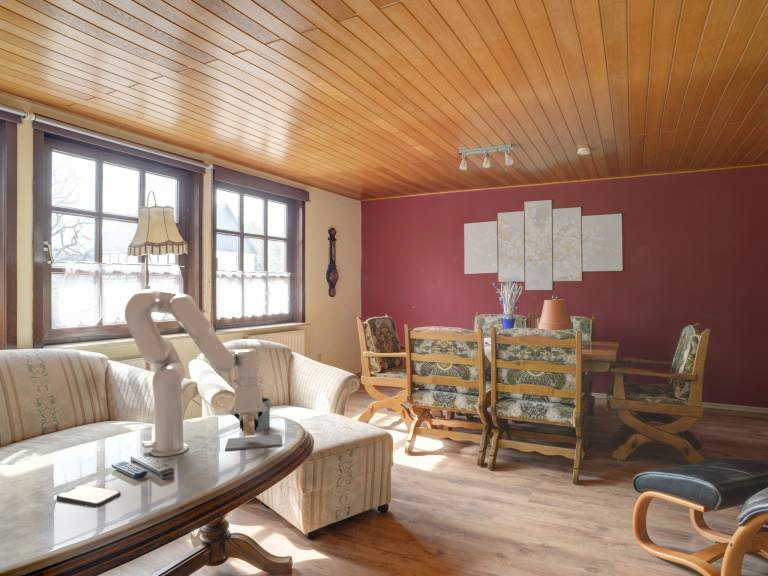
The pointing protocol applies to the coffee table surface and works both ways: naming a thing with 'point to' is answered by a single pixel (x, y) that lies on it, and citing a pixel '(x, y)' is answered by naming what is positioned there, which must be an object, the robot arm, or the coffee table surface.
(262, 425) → the grey-green cup
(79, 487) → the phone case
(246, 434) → the maple block
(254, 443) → the mat
